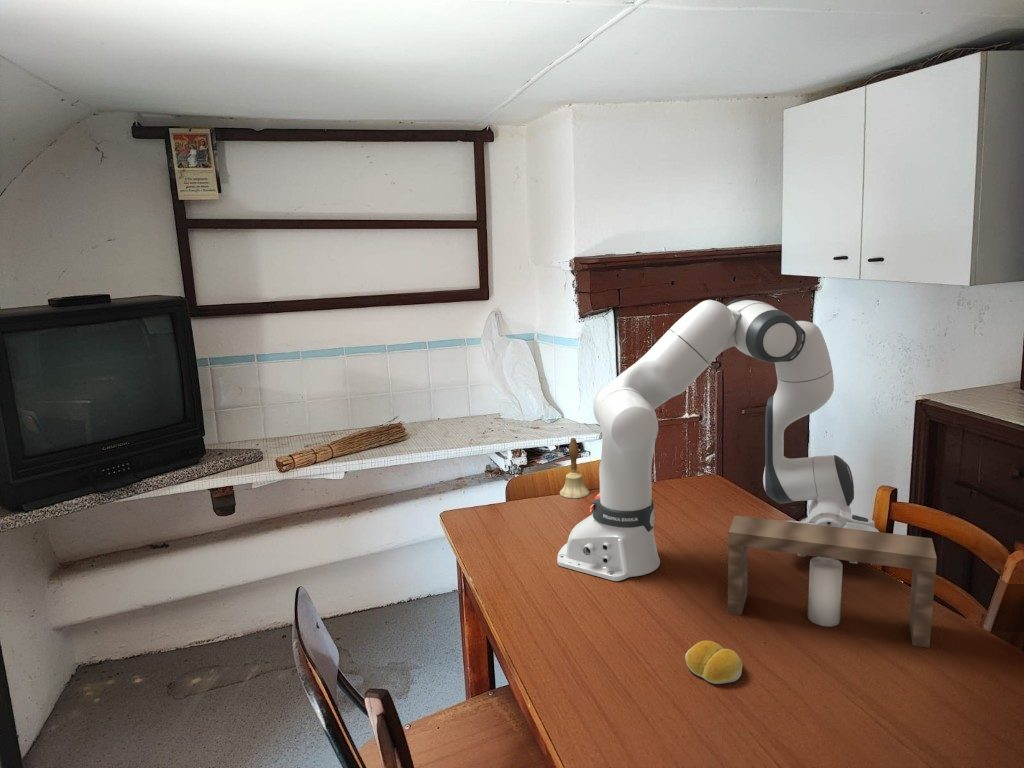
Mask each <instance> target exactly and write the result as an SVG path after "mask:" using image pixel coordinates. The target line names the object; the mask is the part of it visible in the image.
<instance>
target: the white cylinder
mask: <svg viewBox="0 0 1024 768" xmlns="http://www.w3.org/2000/svg"><path fill="white" fill-rule="evenodd" d="M843 565H844V564H843V563H842V562H841V560H839V559H832V558H825V557H817V556H813V557H812V558H811V559H810V561H809V579H808V603H807V618H808V620H809V621H811V623H813V624H816V625H818V626H822V627H828V628H829V627H835V626H838V625H839V624H840V622H841V608H842V607H841V603H842V587H843V586H842V585H843V584H842V583H843Z"/></svg>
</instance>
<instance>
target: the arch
mask: <svg viewBox="0 0 1024 768" xmlns="http://www.w3.org/2000/svg"><path fill="white" fill-rule="evenodd" d="M788 521H789V520H779V519H778V520H777V519H771V518H770V519H768V518H761V517H760V518H759V517H752V516H744V515H734V517H733V520H732V522H731V524H730V527H729V530H728V548H727V549H728V555H727V556H728V557H727V558H728V562H727V564H728V566H727V569H728V570H727V614H730V615H736V616H742V615H743V611H744V607H745V603H746V600H747V597H748V563H749V562H748V557H749V556H748V553H749V552H748V551H749V548H751V549H752V548H753V549H759V550H767V551H775V552H780V553H789V554H795V555H798V554H803V555H805V556H811V557H825V558H832V559H836V560H839V561H841V560H842V561H848V562H849V561H855V562H857V563H863V564H871V565H879V566H885V567H894V568H901V569H909V570H912V577H911V592H910V604H909V616H908V617H909V619H908V623H909V629H910V637H911V644H912V646H915V647H921V648H927V649H930V646H931V632H932V623H933V622H932V621H933V609H934V599H935V598H934V597H935V596H934V595H935V586H936V585H935V584H936V576H937V575H936V572H937V560H938V558H937V554H936V551H935V549H936V548H935V545H934V542H933V538H932V537H923V536H916V535H915V536H914V535H906V534H899V533H889V532H881V531H879V532H874V531H865V530H856V529H848V528H839V527H831V526H822V525H814V524H805V523H796V522H788Z"/></svg>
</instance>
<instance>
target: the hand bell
mask: <svg viewBox="0 0 1024 768" xmlns="http://www.w3.org/2000/svg"><path fill="white" fill-rule="evenodd" d="M568 454H569V458H570V472H568V473H567V474H566V475H565V481H564V485H563V487H562V488H561V489H560V491H559V495H560V496H561V497H563V498H566V499H581V498H586V497H587V496H589V495H590V491H589V488H587V486H585V483H584V480H583V475H582V473H580V472H578V470H577V469H578V464H577V463H578V462H577V459H578V455H579V446H578V442H577V439H576V438H575V437H571V438H570V442H569V445H568Z"/></svg>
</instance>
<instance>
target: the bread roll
mask: <svg viewBox="0 0 1024 768" xmlns="http://www.w3.org/2000/svg"><path fill="white" fill-rule="evenodd" d="M684 658H685V664H686V666H687V667H688V669H689V670H690V671H691V672H692V673H693V674H694V675H696V676H698V677H699V678H702V679H703V680H705V681H707V682H709V683H711V684H715V685H721V684H729V683H733V682H736V681H737V680H739V679H740V677H741V676H742V673H743V662H742V659H741V658H740V656H739V655H738V654H737V652H736V651H734V650H733V649H730V648H724V647H723V646H721V645H720V644H719V643H717V642H716V641H712V640H701V641H698V642H696V643H695V644H694V645H693V646H691V648H689V649H688V650H687V652H686V653H685V656H684Z"/></svg>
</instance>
